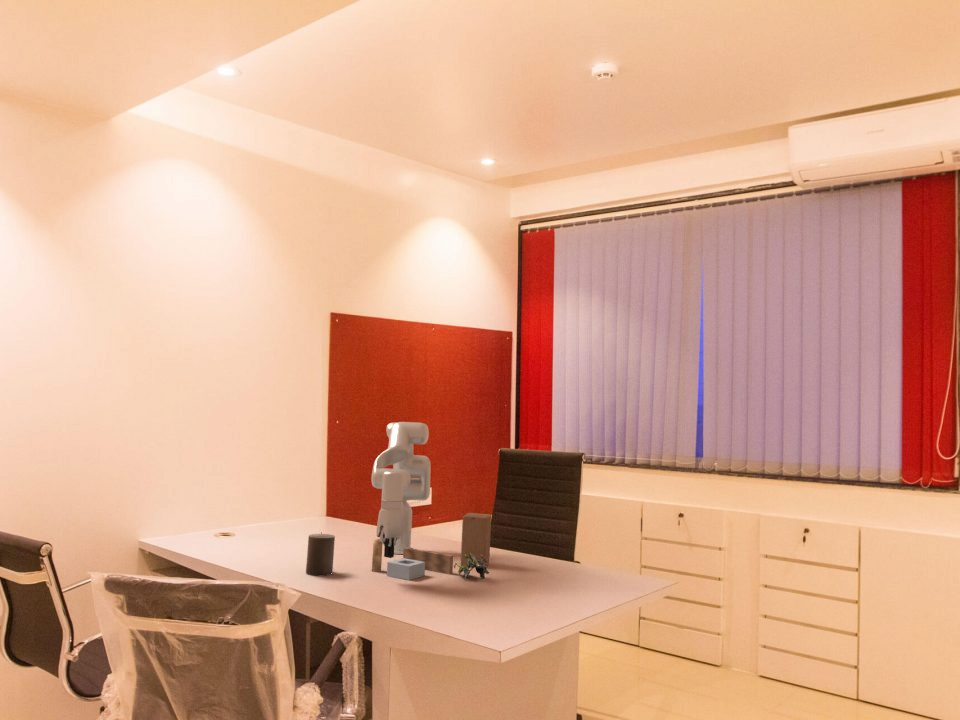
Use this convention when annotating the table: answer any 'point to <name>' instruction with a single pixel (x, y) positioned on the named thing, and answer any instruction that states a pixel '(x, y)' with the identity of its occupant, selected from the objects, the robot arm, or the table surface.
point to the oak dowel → (377, 555)
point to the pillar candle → (320, 554)
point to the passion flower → (476, 563)
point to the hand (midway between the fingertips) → (388, 556)
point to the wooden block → (476, 537)
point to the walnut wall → (431, 560)
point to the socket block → (406, 569)
